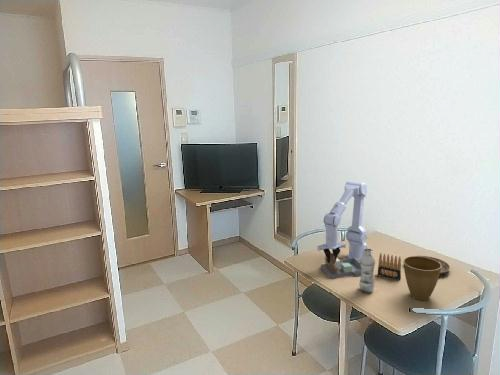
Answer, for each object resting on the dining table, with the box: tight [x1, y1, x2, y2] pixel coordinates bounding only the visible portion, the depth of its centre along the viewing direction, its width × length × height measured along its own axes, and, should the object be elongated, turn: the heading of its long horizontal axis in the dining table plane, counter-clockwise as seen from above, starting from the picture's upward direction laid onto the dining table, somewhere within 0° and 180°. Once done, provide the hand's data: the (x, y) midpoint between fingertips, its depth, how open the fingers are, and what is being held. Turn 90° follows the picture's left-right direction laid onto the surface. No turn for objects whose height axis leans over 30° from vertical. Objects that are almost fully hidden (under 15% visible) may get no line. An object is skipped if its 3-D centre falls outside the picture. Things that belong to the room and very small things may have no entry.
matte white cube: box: [334, 257, 341, 267], centre depth 182 cm, size 4×4×3 cm
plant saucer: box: [421, 255, 451, 276], centre depth 178 cm, size 21×21×3 cm
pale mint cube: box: [341, 263, 352, 272], centre depth 176 cm, size 4×4×3 cm
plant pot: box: [403, 255, 442, 301], centre depth 152 cm, size 15×15×16 cm
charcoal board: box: [320, 261, 354, 279], centre depth 179 cm, size 12×12×2 cm
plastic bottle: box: [358, 248, 376, 293], centre depth 158 cm, size 6×7×20 cm
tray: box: [341, 257, 361, 277], centre depth 180 cm, size 6×14×4 cm, turn 11°
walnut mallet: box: [324, 252, 338, 274], centre depth 177 cm, size 2×13×8 cm, turn 10°
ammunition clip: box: [376, 252, 402, 281], centre depth 170 cm, size 11×2×12 cm, turn 56°
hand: (331, 261), depth 177 cm, fingers closed on walnut mallet, 2 cm apart
